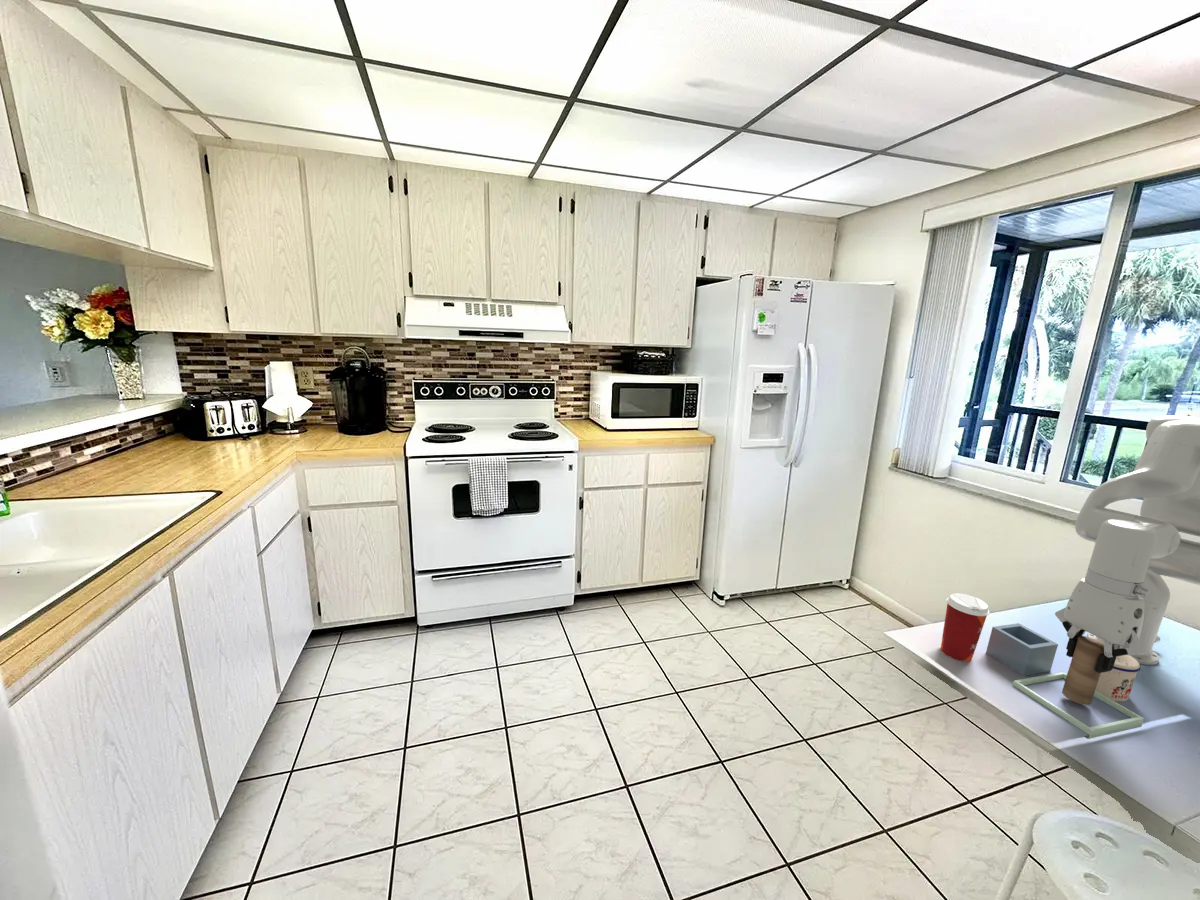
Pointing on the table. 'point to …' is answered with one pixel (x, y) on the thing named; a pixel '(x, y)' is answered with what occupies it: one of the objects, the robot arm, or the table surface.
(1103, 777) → the table surface
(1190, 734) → the table surface
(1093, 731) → the tray
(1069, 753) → the table surface
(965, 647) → the coffee cup
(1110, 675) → the teacup with lid
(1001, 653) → the deep square box
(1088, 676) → the peg
